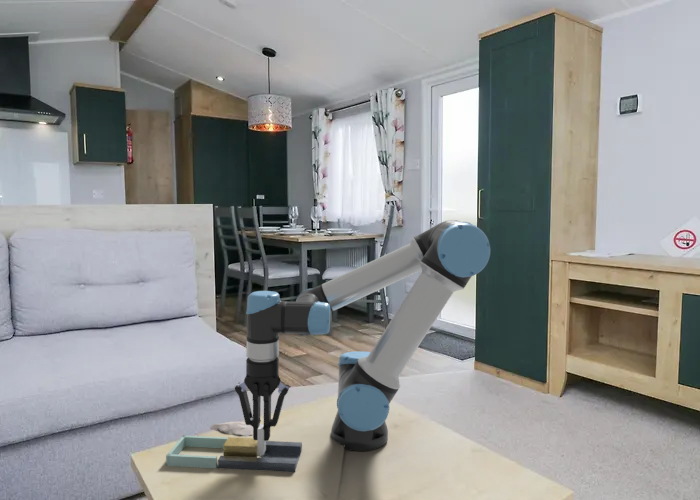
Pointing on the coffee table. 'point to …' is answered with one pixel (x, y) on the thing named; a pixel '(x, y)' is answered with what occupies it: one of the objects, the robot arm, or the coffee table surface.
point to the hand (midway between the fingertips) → (261, 452)
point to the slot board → (267, 458)
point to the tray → (194, 460)
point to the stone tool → (234, 428)
